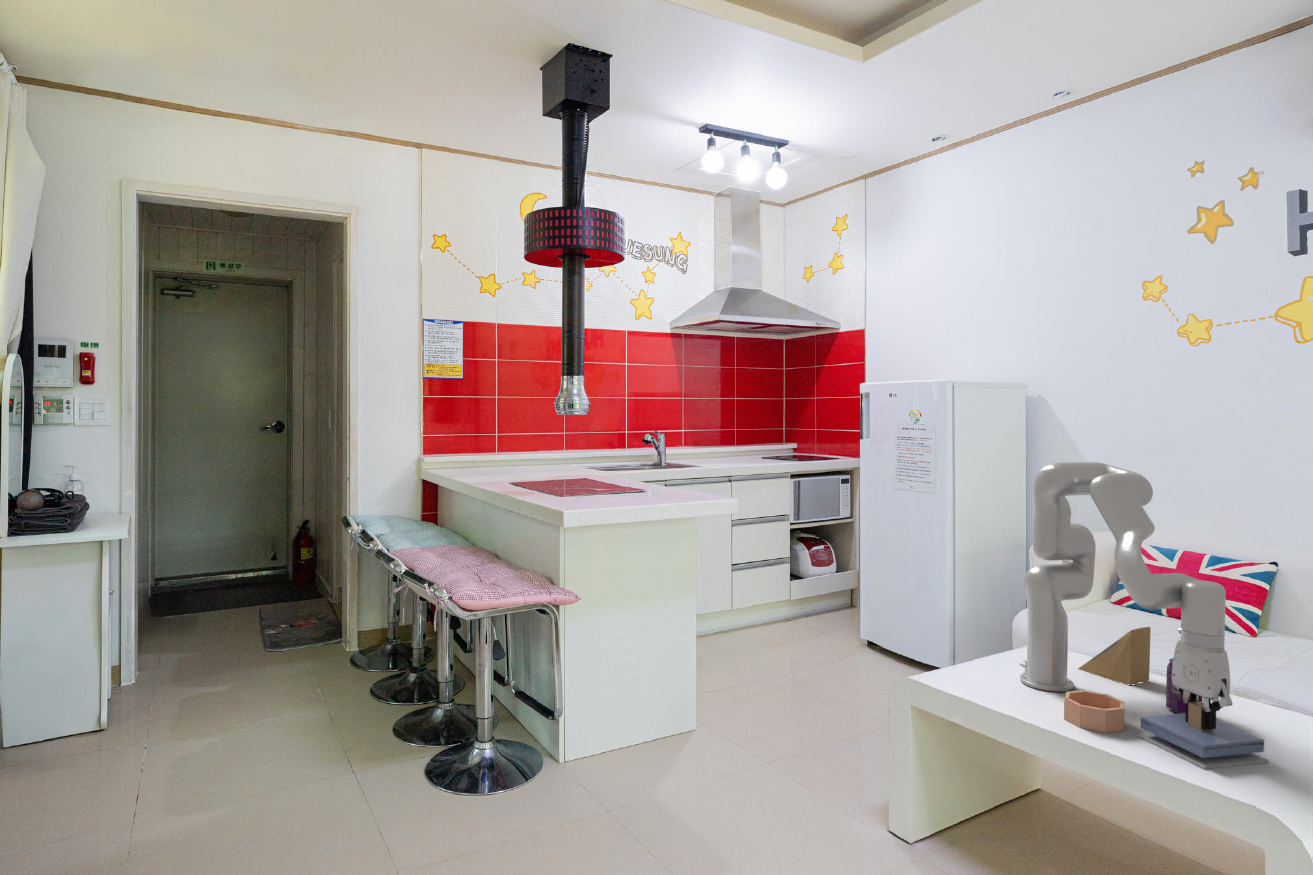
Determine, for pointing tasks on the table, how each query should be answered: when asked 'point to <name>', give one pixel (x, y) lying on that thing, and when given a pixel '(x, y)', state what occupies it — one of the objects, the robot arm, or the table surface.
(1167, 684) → the beverage can
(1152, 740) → the mat
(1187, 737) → the cover
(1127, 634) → the sandwich container
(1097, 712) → the bowl
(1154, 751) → the table surface
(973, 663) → the table surface
